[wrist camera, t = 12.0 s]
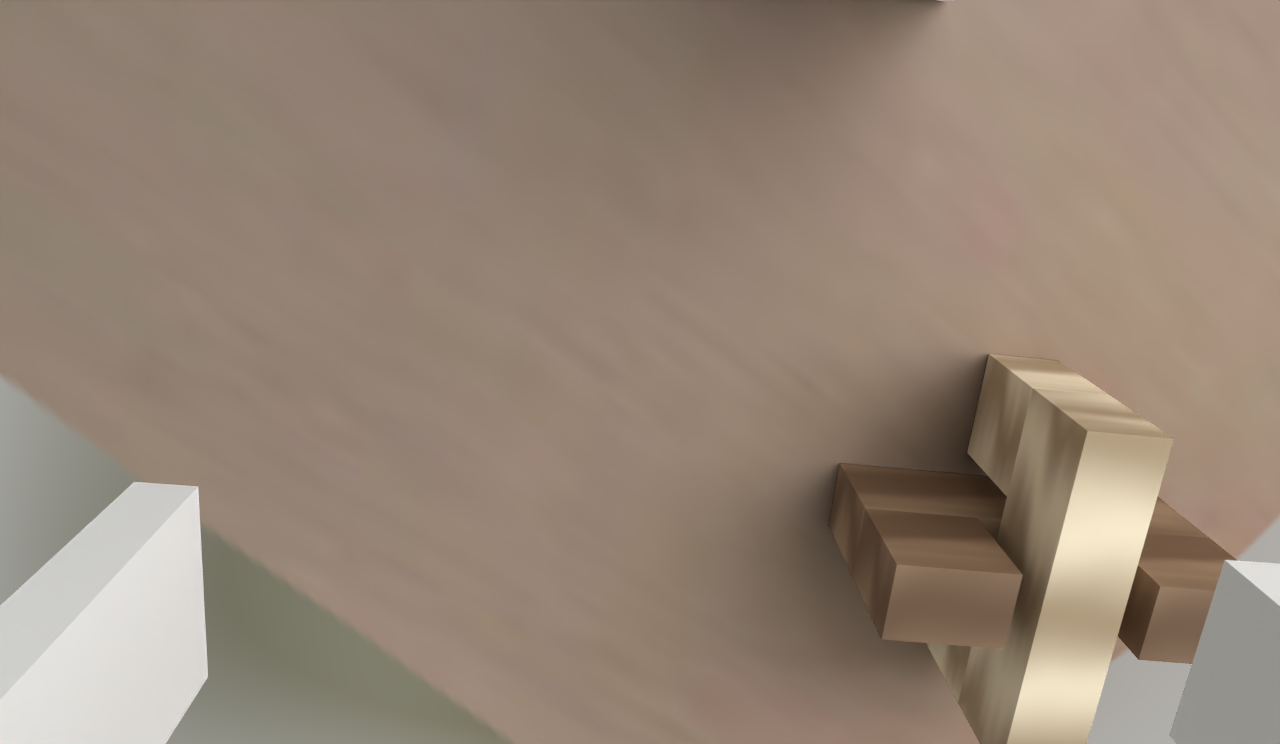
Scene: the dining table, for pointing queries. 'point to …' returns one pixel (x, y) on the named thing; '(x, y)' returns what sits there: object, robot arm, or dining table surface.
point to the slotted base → (997, 564)
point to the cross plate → (1056, 547)
